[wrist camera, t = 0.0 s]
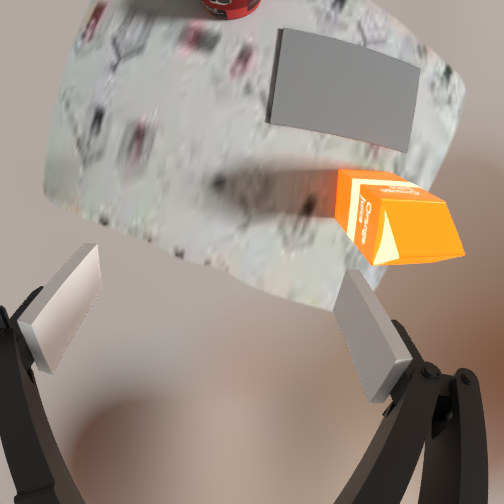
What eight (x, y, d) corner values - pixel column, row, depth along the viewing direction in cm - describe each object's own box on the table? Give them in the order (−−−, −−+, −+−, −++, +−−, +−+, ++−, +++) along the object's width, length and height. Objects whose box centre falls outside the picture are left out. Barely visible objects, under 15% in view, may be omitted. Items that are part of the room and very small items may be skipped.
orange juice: (337, 168, 40) (407, 217, 22) (391, 171, 40) (476, 219, 23) (334, 219, 44) (390, 295, 26) (385, 219, 44) (456, 287, 26)
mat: (283, 28, 31) (283, 27, 30) (418, 68, 33) (420, 68, 32) (269, 123, 37) (270, 123, 37) (405, 152, 39) (406, 153, 38)
